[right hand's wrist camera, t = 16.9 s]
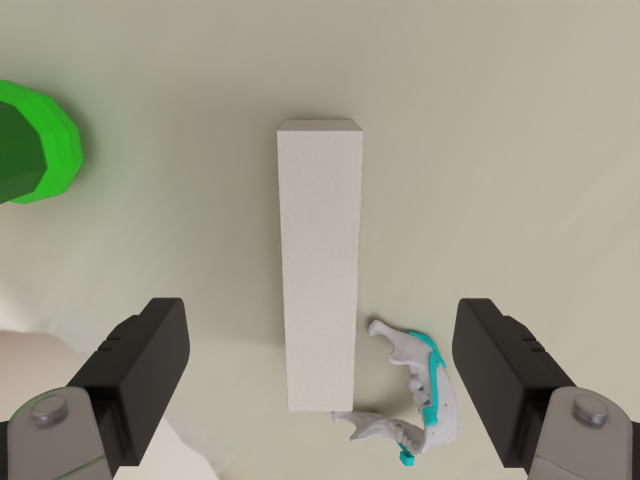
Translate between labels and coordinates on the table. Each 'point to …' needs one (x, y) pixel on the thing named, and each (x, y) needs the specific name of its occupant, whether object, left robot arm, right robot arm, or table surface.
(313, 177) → the box
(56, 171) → the green tall lumpy piece
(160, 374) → the right robot arm
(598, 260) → the table surface
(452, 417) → the anatomical model
